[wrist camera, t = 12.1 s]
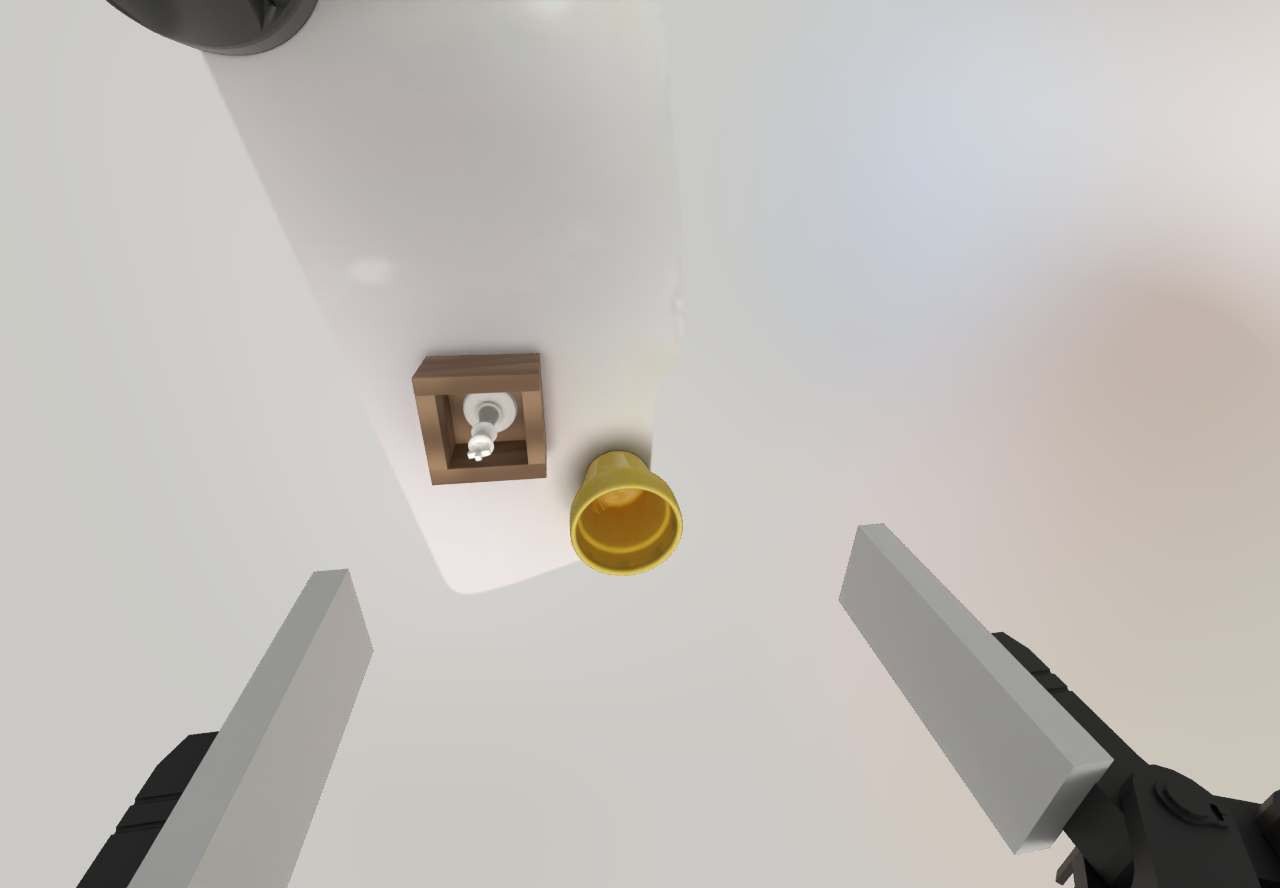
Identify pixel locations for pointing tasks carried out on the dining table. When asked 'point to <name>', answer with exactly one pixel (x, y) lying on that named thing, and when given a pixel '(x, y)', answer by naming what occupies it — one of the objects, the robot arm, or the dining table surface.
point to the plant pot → (624, 516)
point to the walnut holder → (450, 432)
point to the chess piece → (487, 420)
